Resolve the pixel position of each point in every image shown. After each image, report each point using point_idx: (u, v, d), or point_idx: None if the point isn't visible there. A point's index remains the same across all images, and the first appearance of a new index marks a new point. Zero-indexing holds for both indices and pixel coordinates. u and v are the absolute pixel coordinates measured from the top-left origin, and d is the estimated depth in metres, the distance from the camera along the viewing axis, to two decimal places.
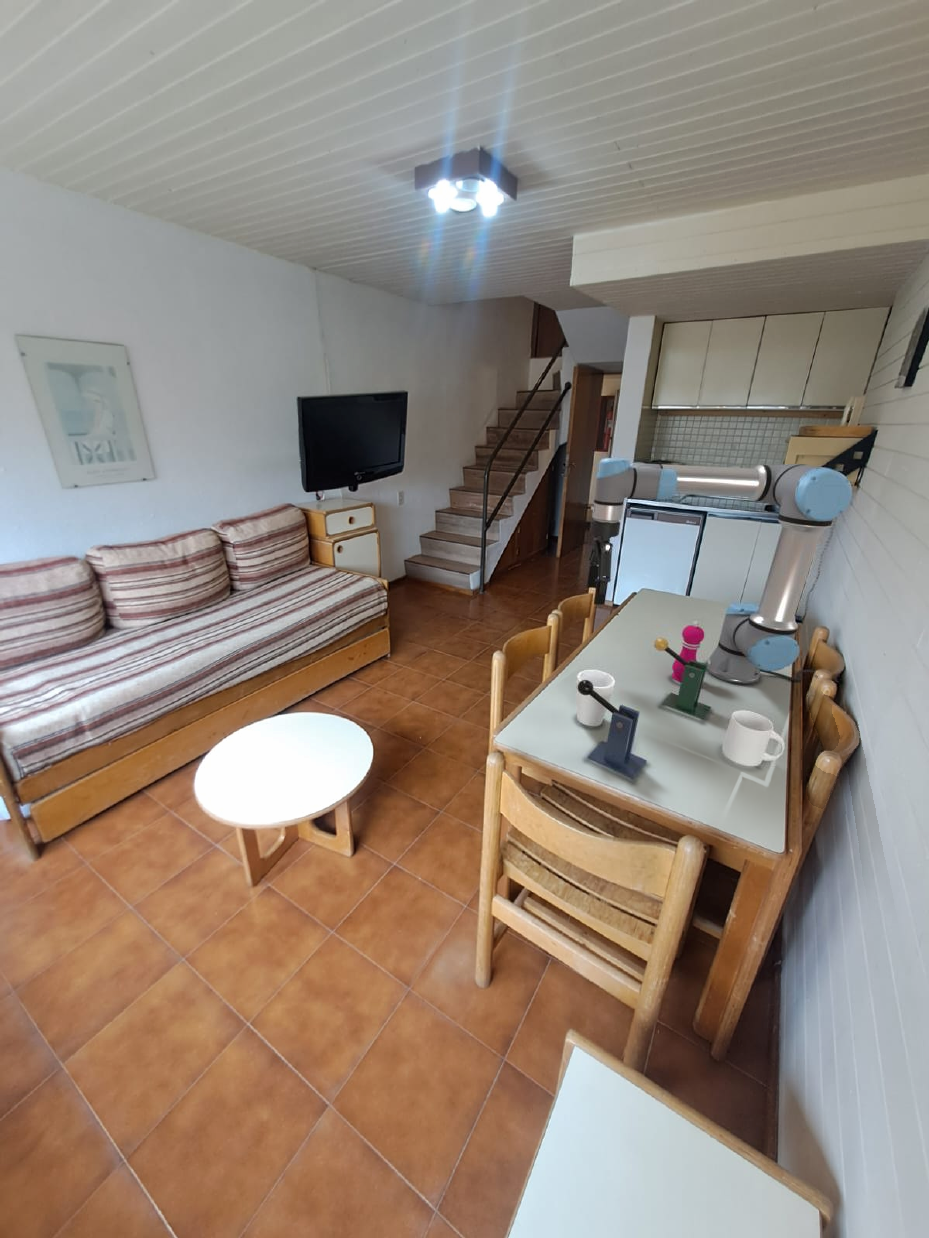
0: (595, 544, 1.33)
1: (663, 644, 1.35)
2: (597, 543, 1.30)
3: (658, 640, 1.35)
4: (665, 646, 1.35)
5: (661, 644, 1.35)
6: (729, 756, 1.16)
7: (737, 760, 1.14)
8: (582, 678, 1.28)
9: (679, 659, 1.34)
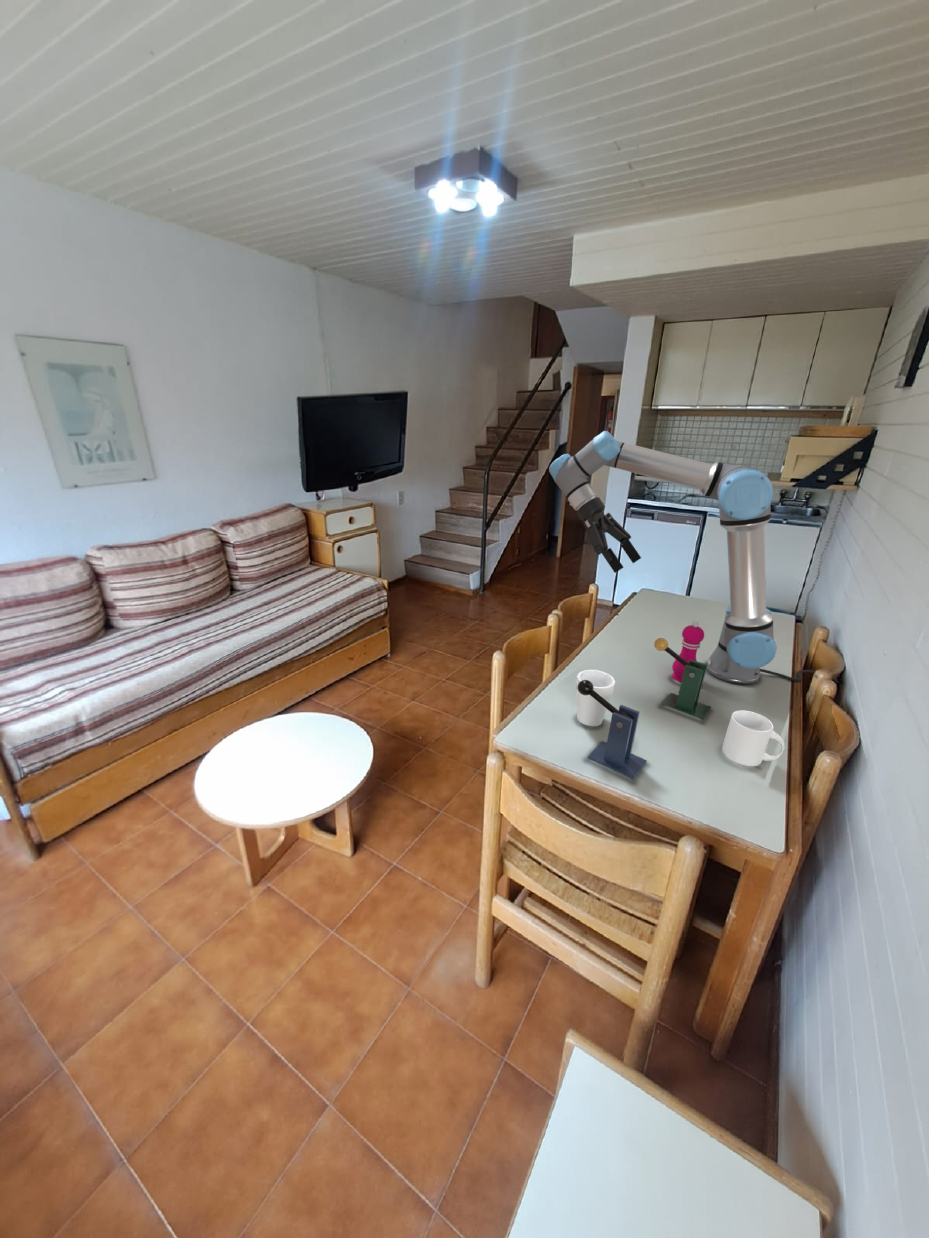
0: None
1: (663, 644, 1.35)
2: None
3: (658, 640, 1.35)
4: (665, 646, 1.35)
5: (661, 644, 1.35)
6: (729, 756, 1.16)
7: (737, 760, 1.14)
8: (582, 678, 1.28)
9: (679, 659, 1.34)
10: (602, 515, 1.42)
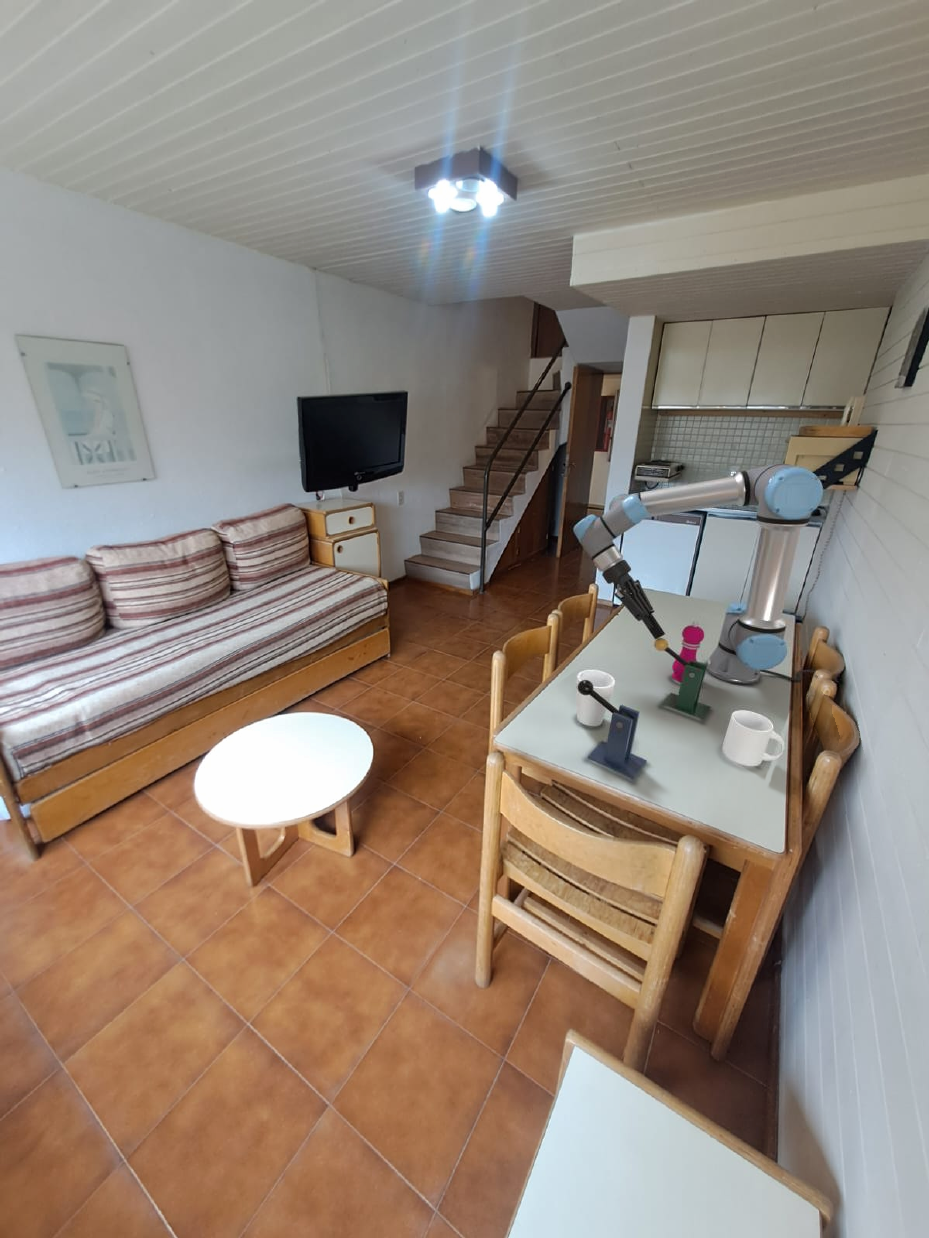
0: None
1: (663, 644, 1.35)
2: None
3: (658, 640, 1.35)
4: (665, 646, 1.35)
5: (661, 644, 1.35)
6: (729, 756, 1.16)
7: (737, 760, 1.14)
8: (582, 678, 1.28)
9: (679, 659, 1.34)
10: (628, 577, 1.39)
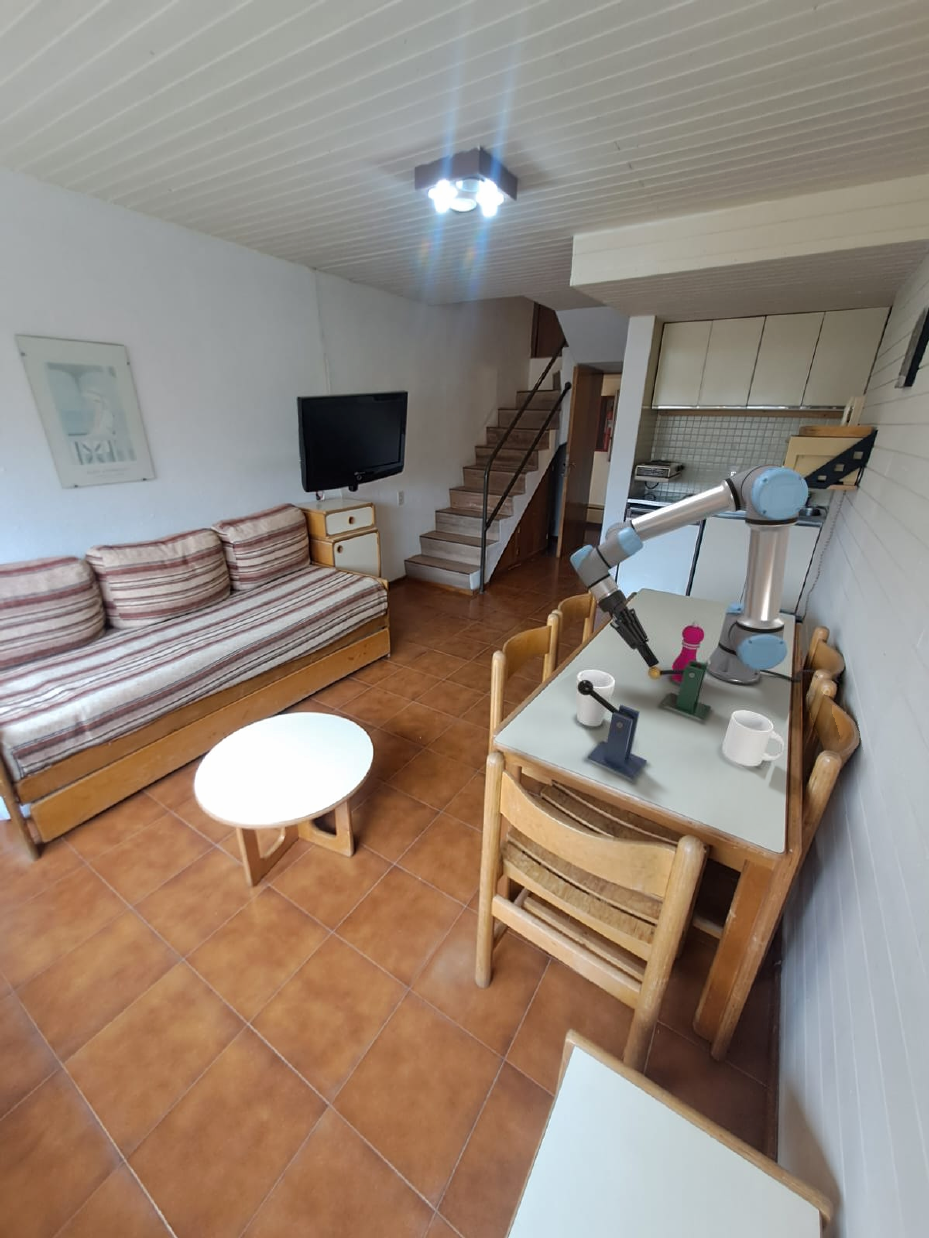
0: None
1: (654, 670, 1.39)
2: None
3: (648, 671, 1.40)
4: (657, 671, 1.38)
5: (652, 672, 1.39)
6: (729, 756, 1.16)
7: (737, 760, 1.14)
8: (582, 678, 1.28)
9: (675, 672, 1.35)
10: (623, 606, 1.42)
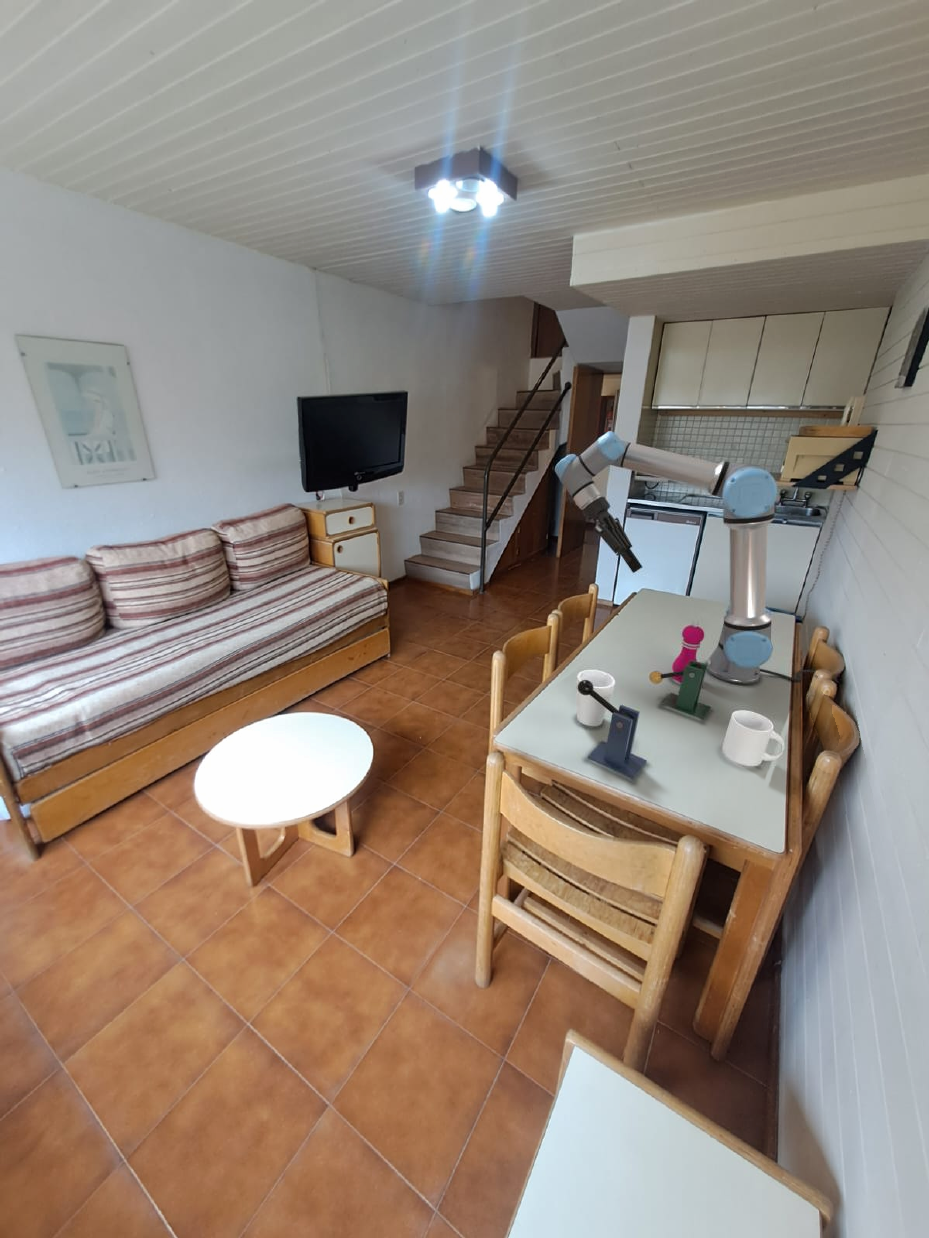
0: None
1: (654, 675, 1.39)
2: None
3: (649, 676, 1.40)
4: (658, 675, 1.38)
5: (653, 676, 1.39)
6: (729, 756, 1.16)
7: (737, 760, 1.14)
8: (582, 678, 1.28)
9: (676, 674, 1.35)
10: (607, 514, 1.44)
